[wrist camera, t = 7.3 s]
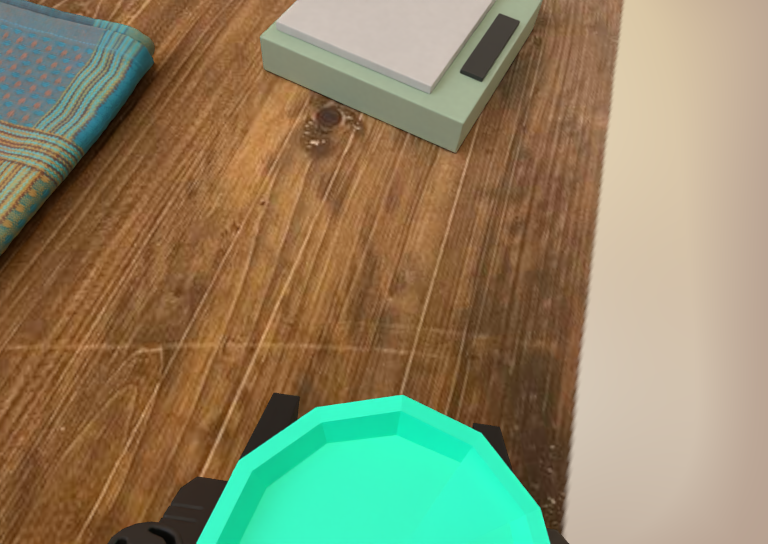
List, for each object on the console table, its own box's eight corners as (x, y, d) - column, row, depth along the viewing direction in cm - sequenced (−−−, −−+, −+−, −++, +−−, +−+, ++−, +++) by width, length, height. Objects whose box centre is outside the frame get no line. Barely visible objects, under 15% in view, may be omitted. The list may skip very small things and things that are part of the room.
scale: (532, 29, 40) (546, -11, 38) (455, 153, 34) (466, 115, 31) (364, -36, 42) (366, -78, 40) (263, 69, 36) (258, 27, 34)
